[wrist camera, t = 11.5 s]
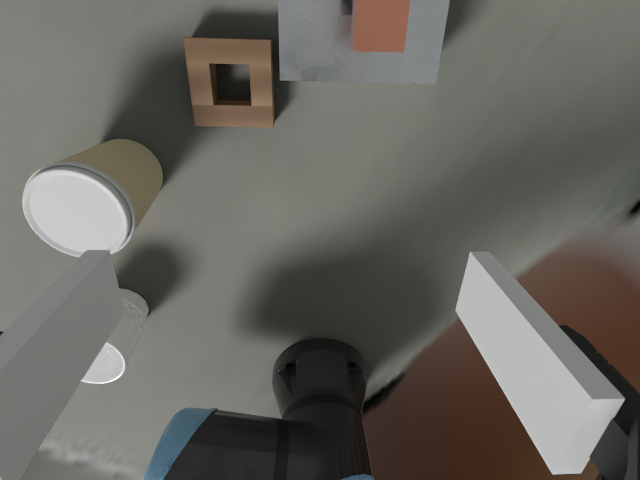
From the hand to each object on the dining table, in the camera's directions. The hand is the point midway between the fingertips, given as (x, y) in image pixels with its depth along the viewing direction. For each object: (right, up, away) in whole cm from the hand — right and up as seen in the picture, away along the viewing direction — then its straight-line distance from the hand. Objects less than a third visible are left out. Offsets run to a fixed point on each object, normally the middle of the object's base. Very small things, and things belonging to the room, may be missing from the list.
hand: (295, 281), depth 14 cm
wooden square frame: (-8, +18, +25) cm, 32 cm away
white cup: (-27, -8, +39) cm, 48 cm away
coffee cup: (-21, +10, +30) cm, 38 cm away
